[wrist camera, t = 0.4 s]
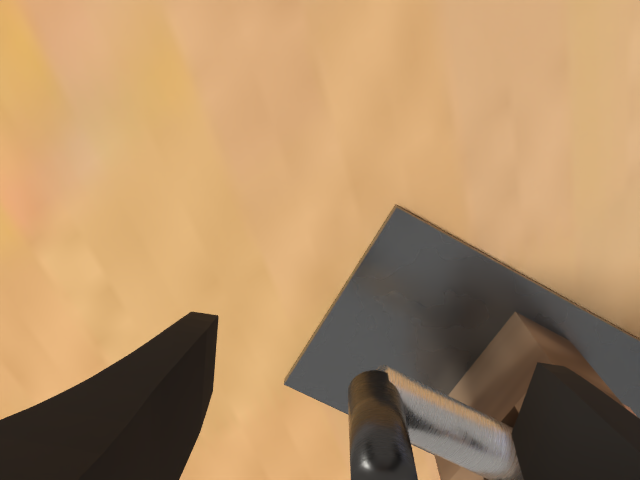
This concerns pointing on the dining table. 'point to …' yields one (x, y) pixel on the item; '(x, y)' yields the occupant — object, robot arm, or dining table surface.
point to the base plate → (443, 318)
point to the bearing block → (513, 376)
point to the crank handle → (421, 430)
